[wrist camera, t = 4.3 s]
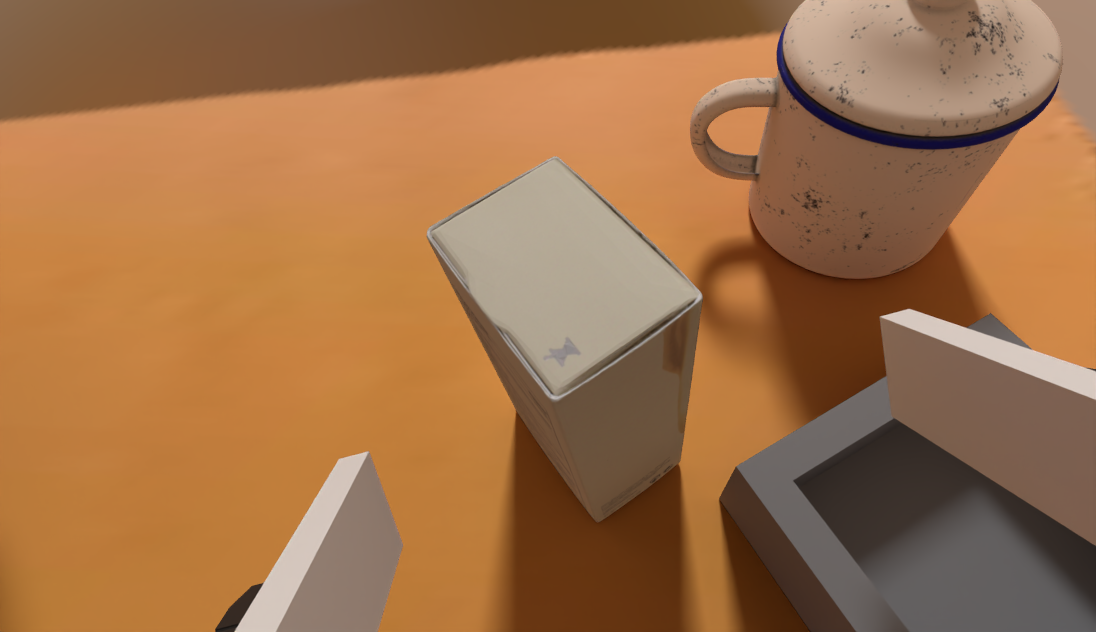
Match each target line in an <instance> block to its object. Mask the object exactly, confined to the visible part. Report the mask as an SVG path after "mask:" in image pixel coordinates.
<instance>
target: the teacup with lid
mask: <svg viewBox="0 0 1096 632" xmlns="http://www.w3.org/2000/svg"><path fill="white" fill-rule="evenodd" d="M1062 64H1063V56H1062V46H1061V41H1060V38H1059V35H1058V33H1057V31H1056V29H1055V27H1054V25H1053V23H1052V22H1051V21H1050V19H1049V18H1048V16H1047V15H1046V14H1045V13H1044V12H1043V11H1042V10H1041V9H1040V8H1039V7H1038V6H1037V5H1036V4H1035V3H1033V2H1032V1H1031V0H805V1H804V2H803V3H802V4H801V5H800V6H799V7H798V9H797V10H796V11H795V12H794V13H793V15H792V16H791V18H790V20H789V21H788V23H787V24H786V26H785V27H784V29H783V31H782V33H781V35H780V39H779V42H778V47H777V65H778V74H777V77H776V78H746V79H739V80H734V81H730V82H727V83H724V84H722V85H720V86H717V87H716V88H714V89H712V90H711V91H709V92H708V93H707V94H705V95H704V96H703V97H702V98H701V99H700V101H699V102H698V103H697V105H696V107H695V108H694V111H693V113H692V117H691V123H690V138H691V144H692V147H693V150H694V152H695V154H696V156H697V158H698V159H699V160H700V162H701V163H702V164H703V165H704V166H705V167H706V168H707V169H709V170H710V171H712V172H713V173H715V174H717V175H720V176H723V177H726V178H731V179H737V180H752V181H751V185H750V190H749V207H750V212H751V216H752V219H753V221H754V224H755V225H756V227H757V229H758V231H759V232H760V234H761V235H762V237H763V238H764V239H765V240H766V242H767V243H768V244H769V245H770V246H771V247H772V248H773V249H774V250H776V251H777V252H778V253H779V254H781V255H782V256H783V257H785V258H786V259H788V260H790V261H791V262H793V263H795V264H797V265H799V266H801V267H803V268H805V269H808V270H811V271H813V272H816V273H820V274H823V275H828V276H832V277H839V278H848V279H866V278H875V277H881V276H886V275H889V274H893V273H896V272H898V271H901V270H903V269H906V268H908V267H910V266H912V265H913V264H915V263H916V262H918V261H919V260H921V259H922V258H923V257H924V256H926V255H927V254H928V253H929V252H930V251H931V250H932V248H933V247H934V246H935V244H936V243H937V242H938V240H939V239H940V238H941V236H942V235H943V234H944V232H945V231H946V229H947V228H948V227H949V225H950V224H951V223H952V221H953V220H954V219H955V217H956V216H957V214H958V213H959V212H960V210H961V209H962V208H963V206H964V205H965V203H966V202H967V201H968V199H969V198H970V197H971V195H972V194H973V193H974V191H975V190H976V188H977V187H978V186H979V184H980V183H981V182H982V180H983V179H984V177H985V176H986V175H987V173H988V172H989V171H990V169H991V168H992V167H993V165H994V164H995V162H996V161H997V160H998V158H999V157H1000V156H1001V154H1002V153H1003V151H1004V150H1005V149H1006V147H1007V146H1008V145H1009V143H1010V142H1011V141H1012V139H1013V138H1014V136H1015V135H1016V134H1017V132H1018V131H1019V130H1020V128H1022V127H1023V126H1025V125H1027V124H1028V123H1029V122H1031V121H1032V120H1033V119H1035V118H1036V117H1037V116H1038V115H1039V114H1040V113H1041V112H1042V111H1043V110H1044V109H1045V107H1046V106H1047V105H1048V104H1049V102H1050V101H1051V99H1052V97H1053V96H1054V94H1055V92H1056V89H1057V86H1058V83H1059V77H1060V74H1061V71H1062ZM743 107H769V111H768V115H767V119H766V123H765V127H764V132H763V136H762V140H761V144H760V148H759V152H758V155H739V154H733V153H729V152H726V151H724V150H722V149H720V148H719V147H718V146H716V145H715V144H714V143H713V141H712V140H711V139H710V137H709V135H708V133H707V129H708V126H709V125H710V123H711V122H712V121H713V120H714V119H715V118H717V117H718V116H719V115H721V114H723V113H725V112H727V111H730V110H733V109H737V108H743Z"/></svg>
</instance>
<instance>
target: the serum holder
mask: <svg viewBox="0 0 1096 632" xmlns="http://www.w3.org/2000/svg"><path fill="white" fill-rule="evenodd" d="M967 328H968V329H971V330H974V331H977V332H980V333H983V334H986V335H989V336H992V337H995V338H998V339H1001V340H1004V341H1007V342H1010V343H1013V344H1016V345H1019V346H1022V347H1025V348H1028V349H1031V348H1030V347H1029V346H1028V345H1026V344H1025V343H1024V342H1023V341H1022V340H1021V339H1020V338H1018V337H1017V336H1016V335H1015V334H1014V333H1013V332H1012V331H1010V330H1009V329H1008V328H1007V327H1006V326H1005V325H1003V324H1002V323H1001V322H1000V321H999V320H998V319H997V318H995V317H994V316H993V315H992V314H991V313H990V314H989V315H987V316H985V317H984V318H982V319H980V320H979V321H977V322H975V323H974V324H972V325H970V326H969V327H967ZM1031 350H1032V349H1031ZM719 499H720V501H721V502H722V504H723V505H724V507H725V508H726V510H727V511H728V513H729V514H730V515H731V517H732V518H733V520H734V521H735V523H736V524H737V526H738V527H739V528H740V530H741V531H742V533H743V534H744V536H745V537H746V539H747V540H748V542H749V543H750V544H751V546H752V547H753V549H754V550H755V552H756V553H757V555H758V556H759V558H760V559H761V560H762V562H763V563H764V565H765V566H766V568H767V569H768V571H769V572H770V574H771V575H772V576H773V578H774V579H775V581H776V582H777V584H778V585H779V587H780V588H781V590H782V591H783V592H784V594H785V595H786V597H787V598H788V600H789V601H790V603H791V604H792V605H793V607H794V608H795V610H796V611H797V613H798V614H799V616H800V617H801V619H802V620H803V621H804V623H805V624H806V626H807V627H808V629H809V630H810V632H1096V546H1095V545H1094V544H1092V543H1090V542H1089V541H1087V540H1086V539H1084V538H1082V537H1081V536H1079V535H1078V534H1076V533H1075V532H1073V531H1071V530H1070V529H1068V528H1067V527H1065V526H1064V525H1062V524H1060V523H1059V522H1057V521H1056V520H1054V519H1053V518H1051V517H1049V516H1048V515H1046V514H1045V513H1043V512H1042V511H1040V510H1038V509H1037V508H1035V507H1034V506H1032V505H1031V504H1029V503H1027V502H1026V501H1024V500H1023V499H1021V498H1019V497H1018V496H1016V495H1015V494H1013V493H1012V492H1010V491H1008V490H1007V489H1005V488H1004V487H1002V486H1001V485H999V484H997V483H996V482H994V481H993V480H991V479H990V478H988V477H986V476H985V475H983V474H982V473H980V472H979V471H977V470H975V469H974V468H972V467H971V466H969V465H968V464H966V463H964V462H963V461H961V460H960V459H958V458H956V457H955V456H953V455H952V454H950V453H949V452H947V451H945V450H944V449H942V448H941V447H939V446H938V445H936V444H934V443H933V442H931V441H930V440H928V439H927V438H925V437H923V436H922V435H920V434H919V433H917V432H916V431H914V430H912V429H911V428H909V427H908V426H906V425H904V424H903V423H901V422H900V421H898V420H897V419H895V418H893V417H892V416H891V408H890V400H889V391H888V383H887V376H886V377H884V378H882V379H881V380H879V381H877V382H876V383H874V384H872V385H871V386H869V387H867V388H866V389H864V390H862V391H861V392H859V393H857V394H856V395H854V396H852V397H851V398H849V399H847V400H846V401H844V402H842V403H841V404H839V405H837V406H836V407H834V408H832V409H831V410H829V411H827V412H826V413H824V414H822V415H821V416H819V417H817V418H816V419H814V420H812V421H811V422H809V423H807V424H806V425H804V426H802V427H801V428H799V429H798V430H796V431H794V432H793V433H791V434H789V435H788V436H786V437H784V438H783V439H781V440H779V441H778V442H776V443H774V444H773V445H771V446H769V447H768V448H766V449H764V450H763V451H761V452H759V453H758V454H756V455H754V456H753V457H751V458H749V459H748V460H746V461H744V462H743V463H741V464H739V465H738V466H736V468H735V470H734V471H733V473H732V475H731V477H730V479H729V481H728V483H727V485H726V487H725V488H724V490H723V492H722V494H721V496H720V498H719Z"/></svg>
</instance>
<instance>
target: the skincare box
mask: <svg viewBox="0 0 1096 632" xmlns="http://www.w3.org/2000/svg"><path fill="white" fill-rule="evenodd" d="M427 238H428V240H429V243H430V245H431V247H432V249H433V250H434V252H435V254H436V256H437V258H438V260H439V262H440V264H441V266H442V268H443V270H444V272H445V274H446V276H447V278H448V279H449V281H450V283H451V285H452V287H453V289H454V291H455V293H456V295H457V297H458V299H459V301H460V303H461V305H462V306H463V308H464V310H465V312H466V314H467V316H468V318H469V320H470V322H471V324H472V326H473V328H474V330H475V331H476V333H477V335H478V337H479V339H480V341H481V343H482V345H483V347H484V349H485V351H486V353H487V355H488V357H489V358H490V360H491V362H492V364H493V366H494V368H495V370H496V372H497V374H498V376H499V378H500V380H501V382H502V384H503V386H504V388H505V390H506V391H507V393H508V395H509V397H510V399H511V401H512V403H513V405H514V407H515V409H516V411H517V412H518V414H519V415H520V417H521V419H522V420H523V422H524V423H525V425H526V426H527V428H528V429H529V431H530V432H531V434H532V435H533V437H534V438H535V440H536V441H537V443H538V444H539V445H540V447H541V448H542V450H543V451H544V453H545V454H546V456H547V457H548V458H549V460H550V461H551V463H552V464H553V465H554V467H555V468H556V470H557V471H558V472H559V474H560V475H561V477H562V478H563V479H564V481H565V482H566V483H567V485H568V486H569V488H570V489H571V490H572V492H573V493H574V494H575V496H576V497H577V498H578V500H579V501H580V502H581V504H582V505H583V506H584V508H585V509H586V510H587V512H588V513H589V514H590V515H591V517H592V518H593V519H594V520H595V521H596V522H600V521H602V520H603V519H605V518H606V517H608V516H609V515H611V514H612V513H613V512H615V511H616V510H618V509H619V508H621V507H622V506H623V505H625V504H626V503H628V502H629V501H630V500H632V499H633V498H635V497H636V496H637V495H639V494H640V493H642V492H643V491H644V490H646V489H647V488H648V487H650V486H651V485H652V484H653V483H655V482H656V481H657V480H659V479H660V478H661V477H662V476H664V475H665V474H666V473H667V472H668V471H670V470H671V469H672V468H673V467H675V466H676V465H677V464H678V463H679V462H680V459H681V452H682V445H683V439H684V431H685V422H686V416H687V410H688V402H689V396H690V388H691V381H692V373H693V366H694V358H695V350H696V343H697V336H698V329H699V322H700V314H701V307H702V302H703V297H702V293H701V292H700V291H699V290H698V289H697V287H696V286H695V285H694V284H693V283H692V282H691V281H690V280H689V279H688V278H687V276H686V275H685V274H684V273H683V272H682V271H681V270H680V269H679V268H678V267H677V266H676V265H675V264H674V263H673V262H672V261H671V260H670V259H669V258H668V257H667V256H666V255H665V254H664V253H663V252H662V251H661V250H660V249H659V248H658V247H657V246H656V245H655V244H654V243H653V242H652V241H651V240H650V239H648V238H647V237H646V236H645V235H644V234H643V233H642V232H641V231H640V230H639V229H638V228H637V227H636V226H635V225H634V224H633V223H632V222H630V221H629V220H628V219H627V218H626V217H625V216H624V215H623V214H622V213H621V212H620V211H619V210H617V209H616V208H615V207H614V206H613V205H612V204H611V203H610V202H609V201H608V200H606V199H605V198H604V197H603V196H602V195H601V194H600V193H599V192H598V191H597V190H595V189H594V188H593V187H592V186H591V185H590V184H589V183H587V182H586V181H585V180H584V179H583V178H582V177H581V176H580V175H578V174H577V173H576V172H575V171H573V170H572V169H571V168H570V167H569V166H568V165H567V164H565V163H564V162H563V161H562V160H561V159H560V158H559V157H556V156H555V157H552V158H550V159H548V160H546V161H544V162H543V163H541V164H539V165H538V166H536V167H534V168H533V169H531V170H529V171H527V172H525V173H523V174H521V175H520V176H518V177H516V178H515V179H513V180H511V181H509V182H507V183H506V184H504V185H502V186H500V187H498V188H496V189H495V190H493V191H491V192H490V193H488V194H486V195H485V196H483V197H481V198H479V199H477V200H475V201H474V202H472V203H470V204H469V205H467V206H465V207H463V208H462V209H460V210H458V211H456V212H455V213H453V214H451V215H450V216H448V217H446V218H444V219H443V220H441V221H439V222H437V223H436V224H434V225H432V226H430V228H429V229H428V231H427Z"/></svg>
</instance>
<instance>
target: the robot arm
mask: <svg viewBox="0 0 1096 632" xmlns="http://www.w3.org/2000/svg"><path fill="white" fill-rule="evenodd" d="M880 324H881V333H882V341H883V349H884V358H885V366H886V375H887V383H888V391H889V400H890V408H891V416H892V417H893V418H895V419H897V420H898V421H900V422H901V423H903V424H904V425H906V426H908V427H909V428H911V429H912V430H914V431H916V432H917V433H919V434H920V435H922V436H923V437H925V438H927V439H928V440H930V441H931V442H933V443H934V444H936V445H938V446H939V447H941V448H942V449H944V450H945V451H947V452H949V453H950V454H952V455H953V456H955V457H956V458H958V459H960V460H961V461H963V462H964V463H966V464H968V465H969V466H971V467H972V468H974V469H975V470H977V471H979V472H980V473H982V474H983V475H985V476H986V477H988V478H990V479H991V480H993V481H994V482H996V483H997V484H999V485H1001V486H1002V487H1004V488H1005V489H1007V490H1008V491H1010V492H1012V493H1013V494H1015V495H1016V496H1018V497H1019V498H1021V499H1023V500H1024V501H1026V502H1027V503H1029V504H1031V505H1032V506H1034V507H1035V508H1037V509H1038V510H1040V511H1042V512H1043V513H1045V514H1046V515H1048V516H1049V517H1051V518H1053V519H1054V520H1056V521H1057V522H1059V523H1060V524H1062V525H1064V526H1065V527H1067V528H1068V529H1070V530H1071V531H1073V532H1075V533H1076V534H1078V535H1079V536H1081V537H1082V538H1084V539H1086V540H1087V541H1089V542H1090V543H1092V544H1094V545H1095V546H1096V369H1091V368H1085V367H1081V366H1078V365H1075V364H1072V363H1069V362H1066V361H1063V360H1060V359H1057V358H1054V357H1051V356H1048V355H1045V354H1042V353H1040V352H1037V351H1034V350H1031V349H1028V348H1025V347H1022V346H1019V345H1016V344H1013V343H1010V342H1007V341H1004V340H1001V339H998V338H995V337H992V336H989V335H986V334H983V333H980V332H977V331H974V330H971V329H968V328H965V327H962V326H959V325H956V324H953V323H950V322H947V321H944V320H941V319H938V318H935V317H932V316H929V315H926V314H923V313H920V312H917V311H915V310H912V309H907V310H903V311H899V312H895V313H892V314H888V315H884V316H880ZM402 547H403V543H402V540H401V538H400V535H399V532H398V529H397V527H396V524H395V521H394V518H393V516H392V513H391V510H390V507H389V505H388V502H387V499H386V497H385V494H384V491H383V488H382V486H381V483H380V480H379V477H378V475H377V472H376V469H375V466H374V464H373V461H372V458H371V455H370V453H369V451H368V452H364V453H361V454H357V455H353V456H349V457H345V458H342V459H339V460H338V462H337V464H336V465H335V467H334V469H333V470H332V472H331V474H330V475H329V477H328V478H327V480H326V482H325V483H324V485H323V487H322V488H321V490H320V492H319V493H318V495H317V497H316V498H315V500H314V502H313V503H312V505H311V506H310V508H309V510H308V511H307V513H306V515H305V516H304V518H303V520H302V521H301V523H300V525H299V526H298V528H297V530H296V531H295V533H294V534H293V536H292V538H291V539H290V541H289V543H288V544H287V546H286V548H285V549H284V551H283V553H282V554H281V556H280V558H279V559H278V561H277V562H276V564H275V566H274V567H273V569H272V571H271V572H270V574H269V576H268V577H267V579H266V581H265V582H264V583H262V584H258V585H254V586H251V587H250V588H249V589H248V590H247V591H246V592H245V593H244V594H243V595H242V596H241V597H240V598H239V599H238V600H237V601H236V602H235V603H234V604H233V605H232V606H231V607H230V608H229V609H228V611H227V612H226V614H225V615H224V617H223V618H222V620H221V621H220V623H219V624H218V626H217V627H216V629H215V632H378V629H379V625H380V622H381V618H382V615H383V612H384V608H385V605H386V601H387V598H388V595H389V591H390V588H391V584H392V581H393V578H394V574H395V571H396V567H397V564H398V560H399V557H400V554H401V550H402Z"/></svg>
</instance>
